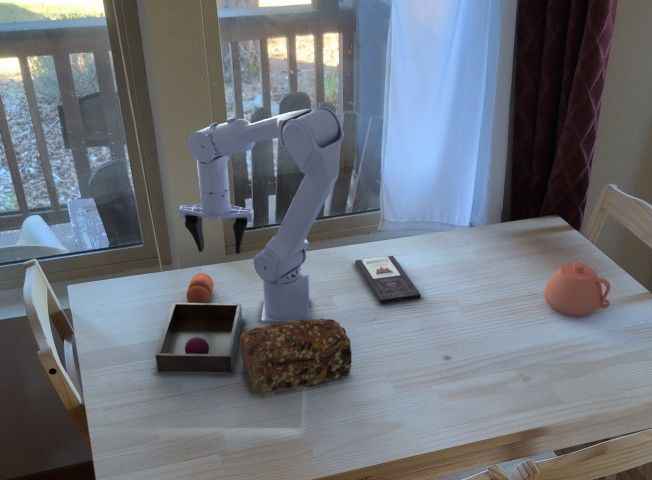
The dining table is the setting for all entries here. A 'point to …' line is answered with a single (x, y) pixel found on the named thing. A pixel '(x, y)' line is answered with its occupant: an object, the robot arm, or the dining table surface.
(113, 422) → the dining table surface
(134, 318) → the dining table surface
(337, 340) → the bread
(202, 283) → the sweet potato
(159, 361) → the dark wooden tray
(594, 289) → the sugar bowl
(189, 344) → the onion
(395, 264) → the chocolate bar
